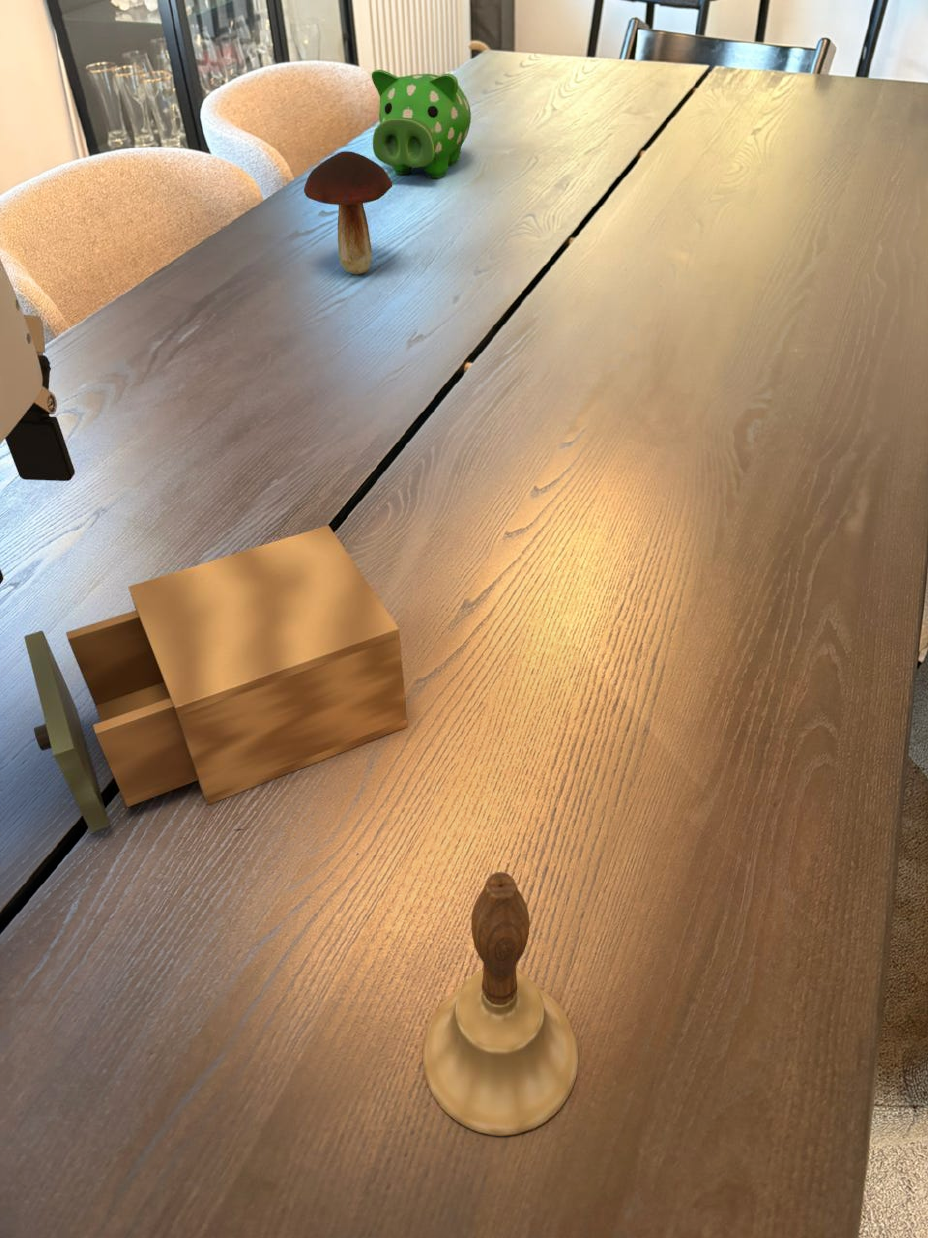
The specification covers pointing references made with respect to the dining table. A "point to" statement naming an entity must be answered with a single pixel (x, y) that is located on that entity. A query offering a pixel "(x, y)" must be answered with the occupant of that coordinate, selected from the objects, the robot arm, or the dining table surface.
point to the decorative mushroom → (349, 202)
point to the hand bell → (500, 1030)
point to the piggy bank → (420, 122)
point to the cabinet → (273, 659)
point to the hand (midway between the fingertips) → (13, 527)
